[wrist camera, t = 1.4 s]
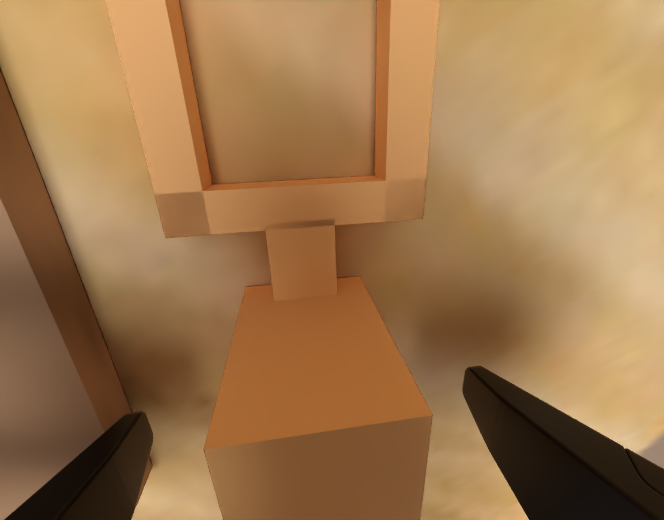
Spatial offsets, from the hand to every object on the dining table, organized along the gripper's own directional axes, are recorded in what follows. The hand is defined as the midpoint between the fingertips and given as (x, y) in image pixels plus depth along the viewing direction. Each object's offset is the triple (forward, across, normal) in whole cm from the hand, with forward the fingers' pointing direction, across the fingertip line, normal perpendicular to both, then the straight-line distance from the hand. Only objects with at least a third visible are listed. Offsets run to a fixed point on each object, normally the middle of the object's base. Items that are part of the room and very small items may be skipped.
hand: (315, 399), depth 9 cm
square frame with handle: (+3, 0, -5) cm, 6 cm away
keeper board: (+3, +14, -4) cm, 15 cm away
